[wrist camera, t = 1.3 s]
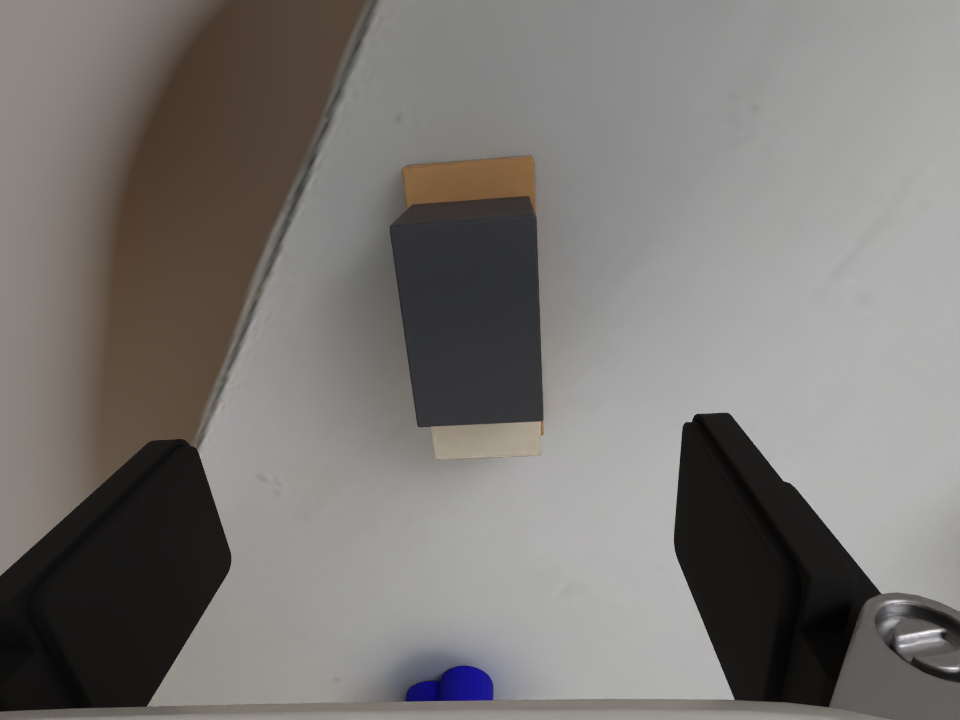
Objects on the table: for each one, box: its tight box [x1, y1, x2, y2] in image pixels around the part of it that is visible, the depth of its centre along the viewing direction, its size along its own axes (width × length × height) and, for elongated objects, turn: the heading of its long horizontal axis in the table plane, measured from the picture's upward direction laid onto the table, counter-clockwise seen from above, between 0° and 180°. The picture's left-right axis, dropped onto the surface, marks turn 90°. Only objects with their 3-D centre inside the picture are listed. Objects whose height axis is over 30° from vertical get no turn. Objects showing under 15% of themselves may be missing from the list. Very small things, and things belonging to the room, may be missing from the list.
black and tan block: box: [389, 156, 544, 460], centre depth 21 cm, size 12×5×6 cm, turn 4°
